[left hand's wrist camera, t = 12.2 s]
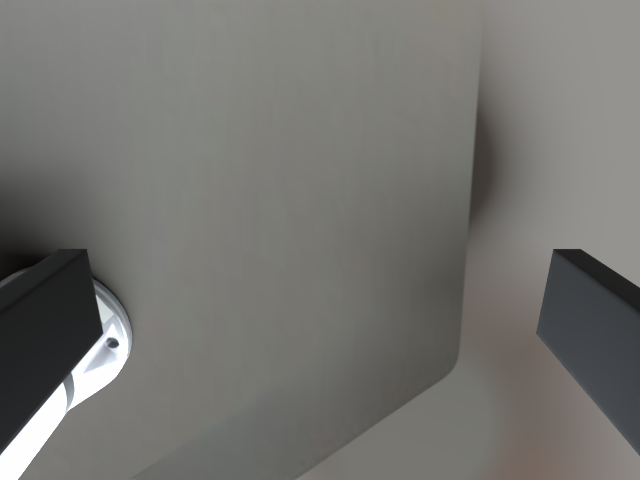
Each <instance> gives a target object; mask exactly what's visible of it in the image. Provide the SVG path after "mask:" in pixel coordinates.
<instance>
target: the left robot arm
mask: <svg viewBox="0 0 640 480" xmlns="http://www.w3.org/2000/svg"><path fill="white" fill-rule="evenodd" d="M536 334H537V335H538V336H539V337H540V339H541V340H542V341H543V342H544V343H545V344H546V346H547V347H548V348H549V349H550V350H551V352H552V353H553V354H554V355H555V356H556V357H557V359H558V360H559V361H560V362H561V363H562V365H563V366H564V367H565V368H566V369H567V370H568V372H569V373H570V374H571V375H572V376H573V377H574V379H575V380H576V381H577V382H578V383H579V385H580V386H581V387H582V388H583V389H584V390H585V392H586V393H587V394H588V395H589V396H590V398H591V399H592V400H593V401H594V402H595V403H596V405H597V406H598V407H599V408H600V409H601V411H602V412H603V413H604V414H605V415H606V416H607V418H608V419H609V420H610V421H611V422H612V423H613V425H614V426H615V427H616V428H617V429H618V431H619V432H620V433H621V434H622V435H623V436H624V438H625V439H626V440H627V441H628V442H629V443H630V445H631V446H632V447H633V448H634V449H635V451H636V452H637V453H638V454H639V455H640V288H639V287H638V286H636V285H635V284H633V283H632V282H630V281H629V280H627V279H625V278H624V277H622V276H621V275H619V274H618V273H616V272H615V271H613V270H612V269H610V268H609V267H607V266H606V265H604V264H602V263H601V262H599V261H598V260H596V259H595V258H593V257H592V256H590V255H589V254H587V253H586V252H584V251H583V250H581V249H553V254H552V259H551V264H550V269H549V273H548V279H547V283H546V288H545V293H544V298H543V303H542V308H541V313H540V318H539V323H538V328H537V332H536ZM131 346H132V329H131V325H130V322H129V319H128V316H127V314H126V312H125V310H124V308H123V307H122V305H121V304H120V302H119V301H118V300H117V298H116V297H115V296H114V295H113V294H112V293H111V292H110V291H109V290H108V289H107V288H106V287H104V286H103V285H102V284H101V283H99V282H98V281H96V280H95V279H93V278H92V273H91V269H90V264H89V259H88V254H87V249H59V250H57V251H56V252H54V253H53V254H51V255H50V256H48V257H47V258H45V259H44V260H42V261H40V262H39V263H37V264H36V265H34V266H33V267H29V268H25V269H22V270H20V271H17V272H15V273H13V274H12V275H10V276H9V277H7V278H5V279H4V280H2V281H1V282H0V480H17V479H18V478H19V477H20V475H21V474H22V472H23V471H24V470H25V468H26V467H27V466H28V464H29V463H30V462H31V460H32V459H33V457H34V456H35V455H36V453H37V452H38V451H39V449H40V448H41V447H42V445H43V444H44V443H45V441H46V440H47V438H48V437H49V436H50V434H51V433H52V432H53V430H54V429H55V428H56V426H57V425H58V423H59V422H60V421H61V419H62V418H63V417H64V415H65V414H66V413H67V411H68V410H69V409H71V408H72V407H74V406H75V405H77V404H78V403H80V402H81V401H83V400H84V399H86V398H87V397H89V396H90V395H92V394H93V393H95V392H96V391H98V390H99V389H101V388H102V387H104V386H105V385H106V384H108V383H109V382H110V381H111V380H112V379H113V378H114V377H115V376H116V375H117V374H118V372H119V371H120V369H121V368H122V366H123V365H124V364H125V362H126V360H127V358H128V356H129V354H130V351H131Z"/></svg>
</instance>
